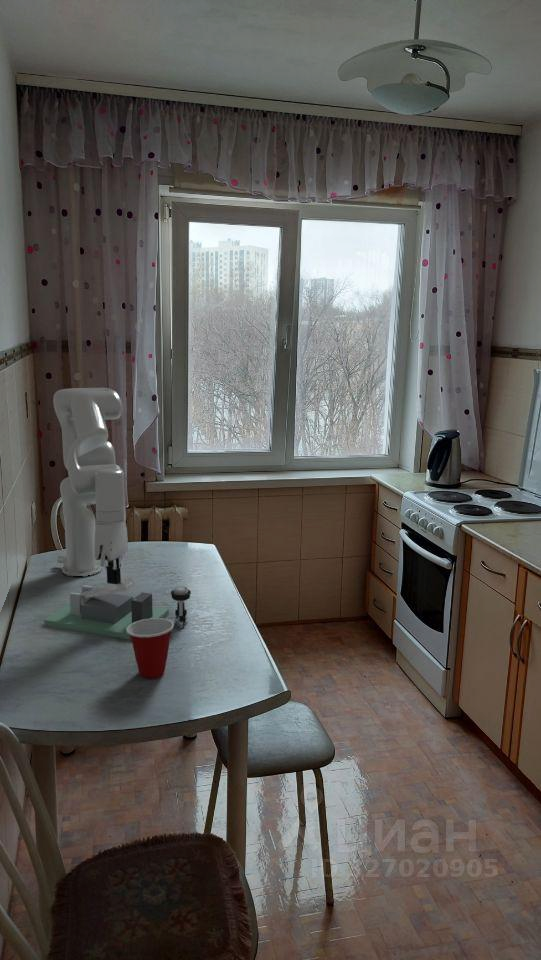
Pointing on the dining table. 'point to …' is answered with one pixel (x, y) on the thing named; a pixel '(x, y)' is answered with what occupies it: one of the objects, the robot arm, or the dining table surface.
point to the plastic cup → (151, 645)
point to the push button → (180, 604)
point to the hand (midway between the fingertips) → (114, 582)
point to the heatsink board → (94, 625)
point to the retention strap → (109, 589)
